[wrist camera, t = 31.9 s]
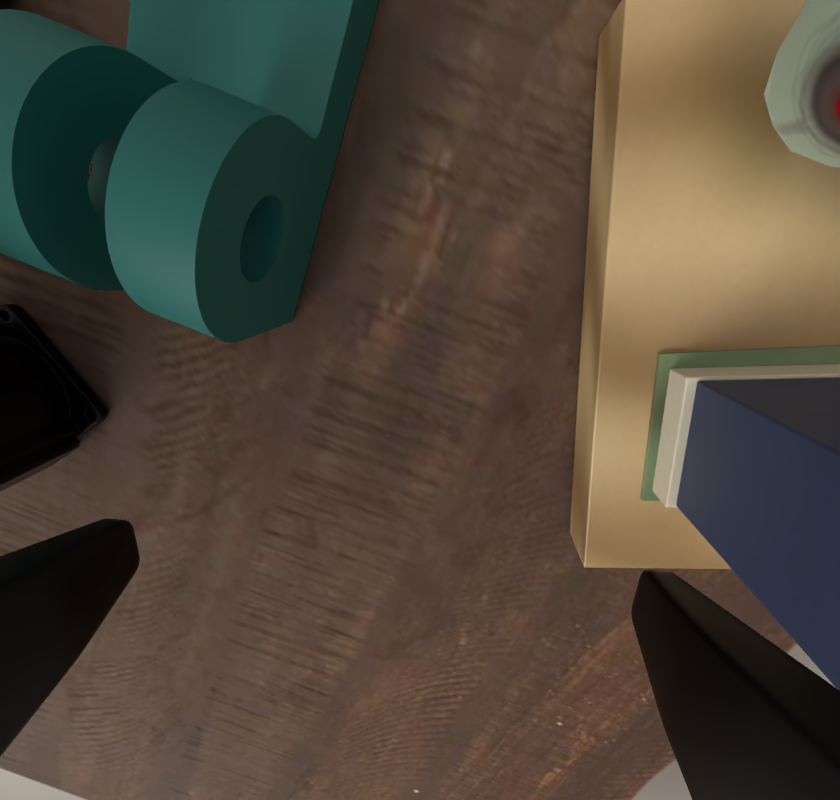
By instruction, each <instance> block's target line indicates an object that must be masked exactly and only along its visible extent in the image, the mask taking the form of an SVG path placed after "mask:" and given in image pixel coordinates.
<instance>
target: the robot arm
mask: <svg viewBox="0 0 840 800" xmlns="http://www.w3.org/2000/svg"><path fill="white" fill-rule="evenodd" d="M9 315H10V316H9ZM92 411H93V412H94V414H95V415H94V414H93V412H92ZM105 418H106V410H105V408H104V407H103V406H102V404H101V403H100V402H99V401H98V400H97V399H96V397H95V396H94V395H93V394H92V393H91V392H90V390H89V389H88V388H87V387H86V386H85V384H84V383H83V382H82V381H81V380H80V379H79V377H78V376H77V375H76V374H75V373H74V372H73V370H72V369H71V368H70V367H69V366H68V365H67V363H66V362H65V361H64V360H63V359H62V357H61V356H60V355H59V354H58V353H57V352H56V350H55V349H54V348H53V347H52V346H51V345H50V343H49V342H48V341H47V340H46V339H45V338H44V336H43V335H42V334H41V333H40V332H39V330H38V329H37V328H36V327H35V326H34V325H33V323H32V322H31V321H30V320H29V319H28V318H27V316H26V315H25V314H24V313H23V312H22V311H21V309H20V308H18V307H17V306H16V305H13V304H4V305H0V491H2V490H4V489H6V488H8V487H10V486H12V485H14V484H16V483H18V482H20V481H22V480H24V479H26V478H28V477H30V476H32V475H34V474H36V473H38V472H40V471H42V470H44V469H46V468H48V467H50V466H51V465H53V464H54V463H56V462H57V461H59V460H60V459H62V458H63V457H65V456H66V455H68V454H69V453H70V452H72V451H73V450H75V449H76V448H78V447H79V445H80V440H79V439H78V437H79V436H81V435H82V434H84V433H85V432H87V431H88V430H90V429H91V428H93V427H94V426H95V425H97V424H98V423H100V422H101V421H103V420H104V419H105ZM139 560H140V557H139V552H138V547H137V543H136V538H135V534H134V529H133V526H132V525H131V523H130V522H128V521H126V520H118V519H102V520H99V521H97V522H94V523H91V524H88V525H86V526H83V527H80V528H77V529H75V530H72V531H69V532H66V533H64V534H61V535H58V536H55V537H53V538H50V539H47V540H44V541H42V542H39V543H36V544H33V545H31V546H28V547H25V548H22V549H20V550H17V551H14V552H12V553H9V554H6V555H3V556H1V557H0V757H1V755H2V754H3V753H4V752H5V750H6V749H7V748H8V747H9V745H10V744H11V743H12V741H13V740H14V739H15V738H16V736H17V735H18V734H19V733H20V731H21V730H22V729H23V727H24V726H25V725H26V724H27V722H28V721H29V720H30V719H31V717H32V716H33V715H34V714H35V712H36V711H37V710H38V708H39V707H40V706H41V705H42V703H43V702H44V701H45V700H46V698H47V697H48V696H49V694H50V693H51V692H52V691H53V689H54V688H55V687H56V686H57V684H58V683H59V682H60V680H61V679H62V678H63V677H64V675H65V674H66V673H67V672H68V670H69V669H70V668H71V666H72V665H73V664H74V662H75V661H76V660H77V658H78V657H79V656H80V654H81V653H82V651H83V650H84V648H85V647H86V646H87V644H88V643H89V641H90V640H91V638H92V637H93V635H94V634H95V632H96V631H97V629H98V628H99V626H100V625H101V623H102V622H103V620H104V619H105V617H106V616H107V614H108V613H109V611H110V610H111V608H112V607H113V605H114V604H115V602H116V601H117V599H118V598H119V596H120V595H121V593H122V592H123V590H124V589H125V587H126V586H127V584H128V583H129V581H130V580H131V578H132V577H133V575H134V574H135V572H136V570H137V568H138V565H139ZM632 621H633V625H634V628H635V632H636V635H637V639H638V642H639V645H640V649H641V652H642V656H643V659H644V662H645V666H646V669H647V673H648V676H649V679H650V683H651V686H652V690H653V693H654V696H655V700H656V703H657V707H658V710H659V713H660V716H661V719H662V722H663V725H664V728H665V731H666V733H667V736H668V739H669V741H670V744H671V747H672V749H673V752H674V754H675V757H676V759H677V762H678V764H679V766H680V769H681V772H682V774H683V777H684V779H685V782H686V784H687V787H688V789H689V792H690V794H691V797H692V799H693V800H840V691H839V690H838V689H837V688H835V687H834V686H832V685H831V684H829V683H828V682H827V681H825V680H824V679H822V678H821V677H820V676H818V675H817V674H815V673H814V672H812V671H811V670H810V669H808V668H807V667H805V666H804V665H802V664H801V663H800V662H798V661H797V660H795V659H794V658H793V657H791V656H790V655H788V654H787V653H786V652H784V651H783V650H781V649H780V648H779V647H777V646H776V645H774V644H773V643H771V642H770V641H769V640H767V639H766V638H764V637H763V636H762V635H760V634H759V633H757V632H756V631H754V630H753V629H752V628H750V627H749V626H747V625H746V624H745V623H743V622H742V621H740V620H739V619H737V618H736V617H735V616H733V615H732V614H730V613H729V612H728V611H726V610H725V609H723V608H722V607H721V606H719V605H718V604H716V603H715V602H713V601H712V600H711V599H709V598H708V597H706V596H705V595H704V594H702V593H701V592H699V591H698V590H696V589H695V588H694V587H692V586H691V585H689V584H688V583H687V582H685V581H684V580H682V579H681V578H680V577H678V576H677V575H675V574H674V573H672V572H669V571H661V570H650V569H648V570H645V571H643V572H642V574H641V576H640V579H639V583H638V587H637V590H636V594H635V598H634V601H633V605H632Z"/></svg>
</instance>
